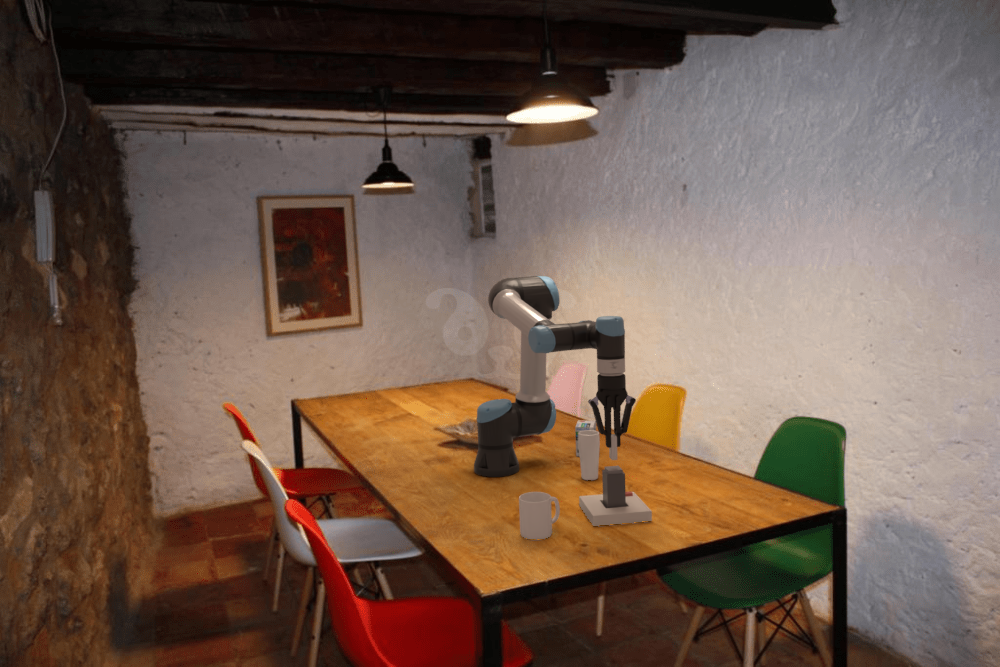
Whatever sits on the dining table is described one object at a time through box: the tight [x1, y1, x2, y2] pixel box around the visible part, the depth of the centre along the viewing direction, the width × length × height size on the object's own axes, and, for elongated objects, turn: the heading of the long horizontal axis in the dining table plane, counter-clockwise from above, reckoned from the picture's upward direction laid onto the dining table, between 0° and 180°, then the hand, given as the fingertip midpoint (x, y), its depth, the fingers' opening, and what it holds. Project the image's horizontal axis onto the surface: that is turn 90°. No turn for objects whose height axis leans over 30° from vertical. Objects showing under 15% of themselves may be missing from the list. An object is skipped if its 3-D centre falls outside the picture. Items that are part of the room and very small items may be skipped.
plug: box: [601, 465, 626, 508], centre depth 205 cm, size 5×5×13 cm
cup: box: [518, 491, 561, 541], centre depth 194 cm, size 8×12×10 cm
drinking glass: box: [578, 430, 601, 481], centre depth 237 cm, size 7×7×15 cm
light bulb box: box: [574, 419, 597, 457], centre depth 267 cm, size 11×7×11 cm, turn 168°
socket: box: [578, 490, 653, 527], centre depth 206 cm, size 16×16×4 cm
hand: (613, 458), depth 204 cm, fingers closed
